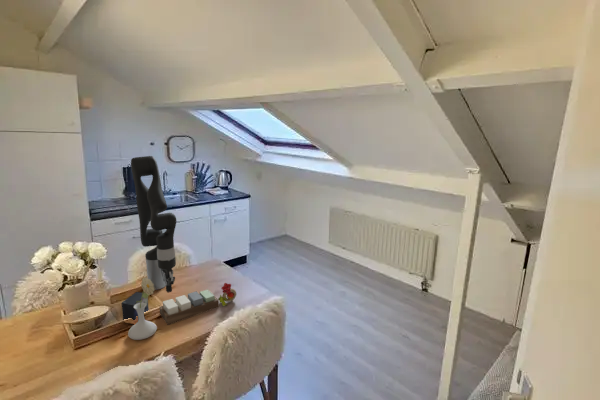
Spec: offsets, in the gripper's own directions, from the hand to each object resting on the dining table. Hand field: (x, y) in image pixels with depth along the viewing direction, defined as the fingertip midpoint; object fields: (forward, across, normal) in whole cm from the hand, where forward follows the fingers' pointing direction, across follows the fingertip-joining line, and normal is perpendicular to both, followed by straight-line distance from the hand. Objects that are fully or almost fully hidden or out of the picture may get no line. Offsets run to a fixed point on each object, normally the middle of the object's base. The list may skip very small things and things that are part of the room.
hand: (169, 291), depth 155 cm
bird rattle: (+14, +4, +27) cm, 30 cm away
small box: (+14, -9, -13) cm, 21 cm away
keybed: (+13, 0, +9) cm, 16 cm away
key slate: (+11, 0, +12) cm, 16 cm away
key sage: (+12, 0, +18) cm, 22 cm away
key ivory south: (+11, 0, 0) cm, 11 cm away
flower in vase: (+14, +5, -13) cm, 20 cm away
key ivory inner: (+11, 0, +6) cm, 12 cm away
